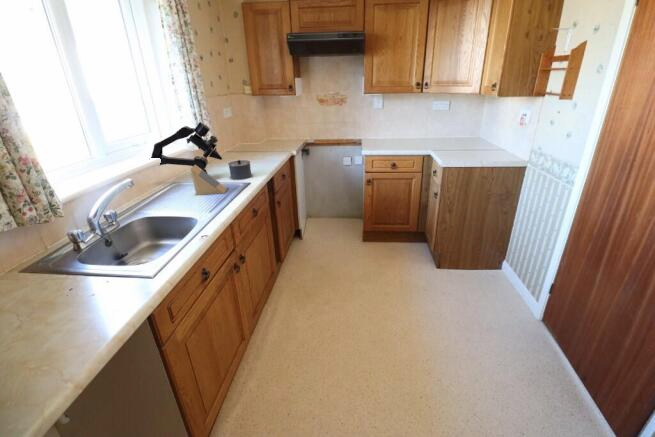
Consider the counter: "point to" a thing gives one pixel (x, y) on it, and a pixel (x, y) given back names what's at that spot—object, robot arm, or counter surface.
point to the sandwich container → (205, 182)
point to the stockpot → (240, 169)
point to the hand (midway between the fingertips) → (221, 159)
